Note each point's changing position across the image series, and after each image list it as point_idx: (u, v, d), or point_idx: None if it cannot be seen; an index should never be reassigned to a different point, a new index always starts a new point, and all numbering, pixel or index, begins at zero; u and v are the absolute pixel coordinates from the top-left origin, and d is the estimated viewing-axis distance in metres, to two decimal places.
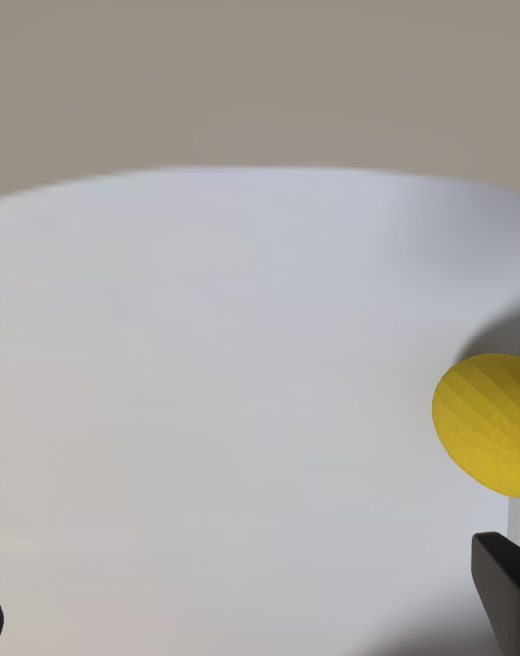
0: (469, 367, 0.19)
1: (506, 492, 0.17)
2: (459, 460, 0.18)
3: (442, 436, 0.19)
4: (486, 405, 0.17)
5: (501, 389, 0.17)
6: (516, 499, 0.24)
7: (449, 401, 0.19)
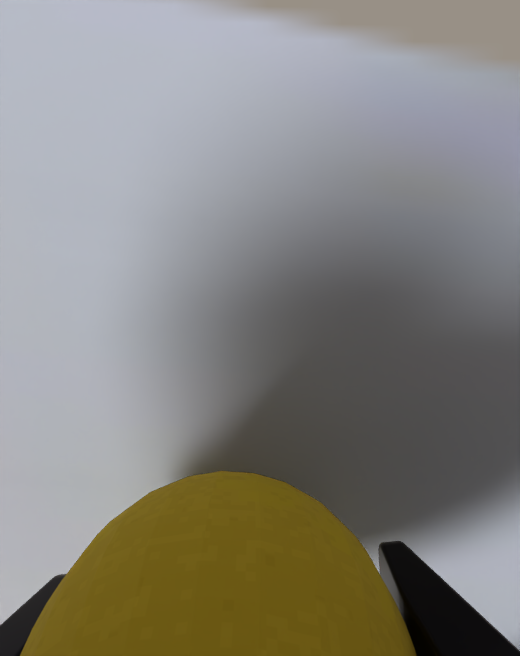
0: (103, 543, 0.06)
1: None
2: None
3: None
4: None
5: None
6: None
7: None
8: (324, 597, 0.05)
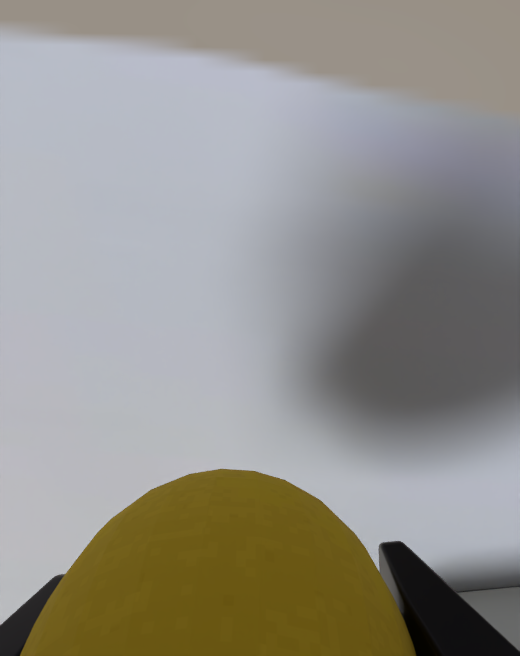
0: (104, 540, 0.06)
1: None
2: None
3: None
4: None
5: None
6: None
7: None
8: (324, 592, 0.05)
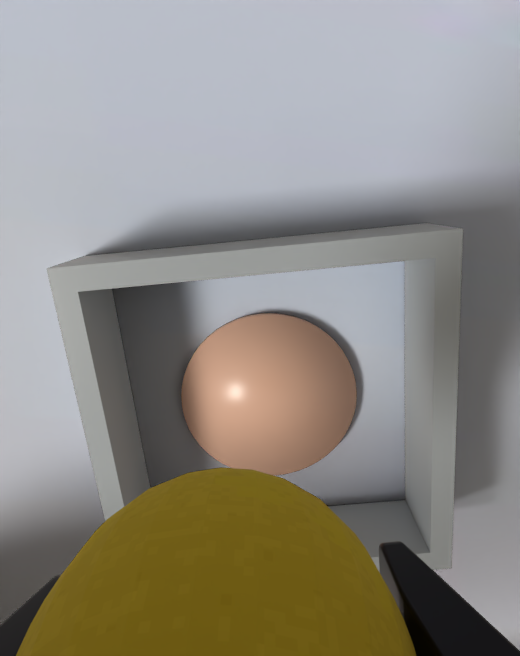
0: (101, 539, 0.06)
1: None
2: None
3: None
4: None
5: None
6: None
7: None
8: (323, 592, 0.05)
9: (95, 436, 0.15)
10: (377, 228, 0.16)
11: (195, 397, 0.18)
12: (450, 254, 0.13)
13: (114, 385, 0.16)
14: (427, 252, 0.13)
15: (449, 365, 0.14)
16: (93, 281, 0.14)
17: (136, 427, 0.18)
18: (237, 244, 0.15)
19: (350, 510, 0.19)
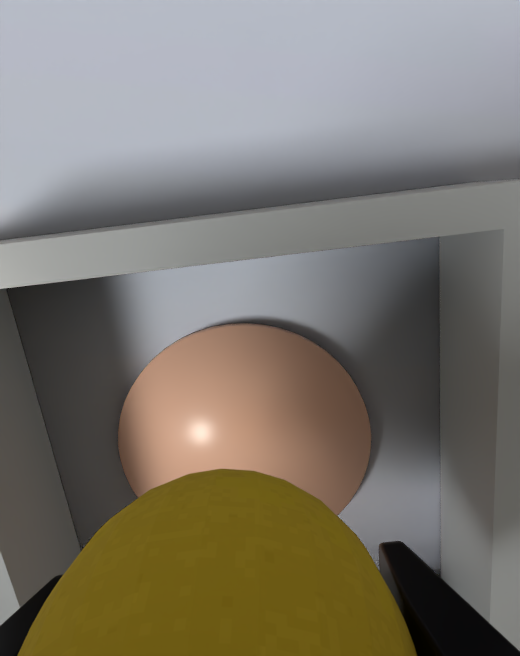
0: (102, 540, 0.06)
1: None
2: None
3: None
4: None
5: None
6: None
7: None
8: (324, 593, 0.05)
9: None
10: (399, 191, 0.10)
11: (138, 446, 0.12)
12: None
13: (6, 438, 0.11)
14: (490, 219, 0.08)
15: None
16: None
17: (58, 489, 0.13)
18: (181, 219, 0.10)
19: None
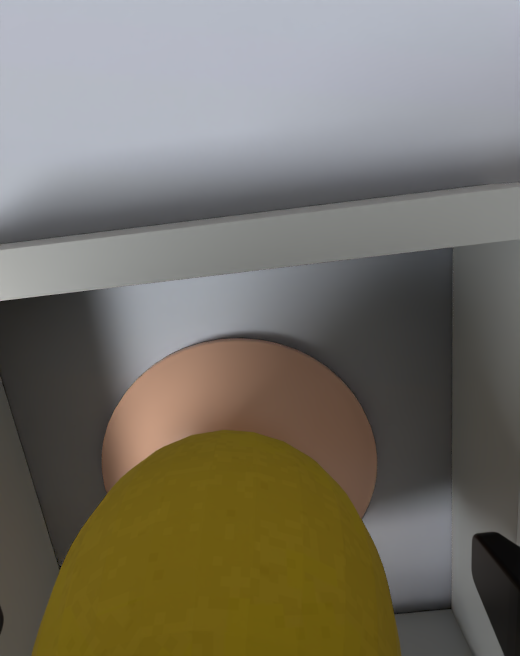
0: (127, 479, 0.07)
1: None
2: None
3: None
4: (51, 647, 0.05)
5: (101, 591, 0.05)
6: None
7: None
8: (308, 512, 0.06)
9: None
10: (409, 194, 0.09)
11: (124, 471, 0.11)
12: None
13: None
14: (518, 227, 0.07)
15: None
16: None
17: (37, 517, 0.12)
18: (168, 225, 0.09)
19: None
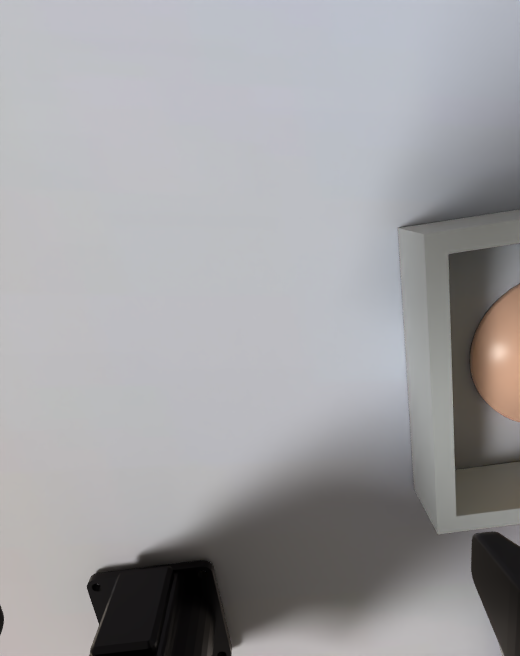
0: None
1: None
2: None
3: None
4: None
5: None
6: (403, 248, 0.18)
7: None
8: None
9: (440, 387, 0.17)
10: None
11: (486, 354, 0.19)
12: None
13: None
14: None
15: None
16: (463, 243, 0.15)
17: None
18: None
19: None
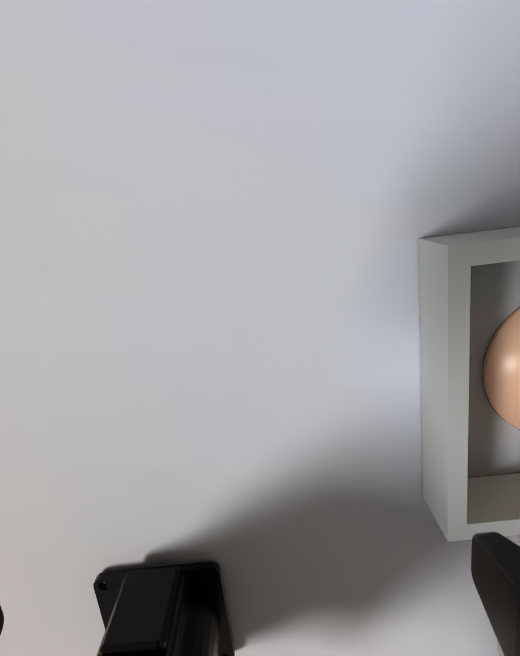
0: None
1: None
2: None
3: None
4: None
5: None
6: (424, 258, 0.18)
7: None
8: None
9: (456, 396, 0.17)
10: None
11: (499, 365, 0.20)
12: None
13: None
14: None
15: None
16: (486, 256, 0.16)
17: None
18: None
19: None
